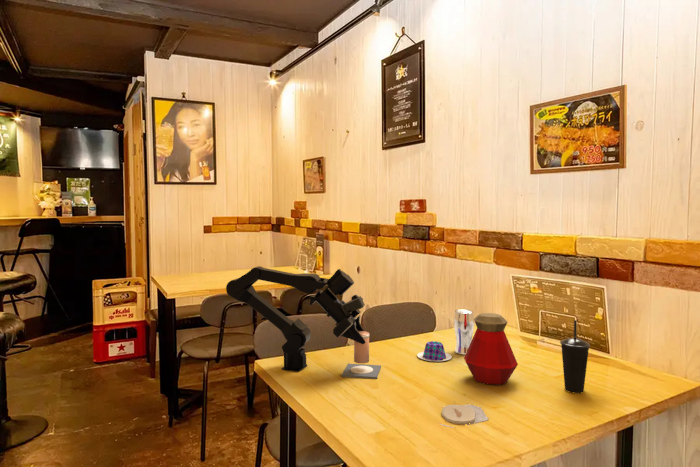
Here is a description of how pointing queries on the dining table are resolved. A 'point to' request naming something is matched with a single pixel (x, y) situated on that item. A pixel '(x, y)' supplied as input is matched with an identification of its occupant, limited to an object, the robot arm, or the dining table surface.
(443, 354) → the pudding
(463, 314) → the beer glass
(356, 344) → the terracotta tube
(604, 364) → the dining table surface
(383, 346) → the dining table surface
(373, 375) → the card
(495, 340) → the bottle
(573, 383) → the drinking cup
